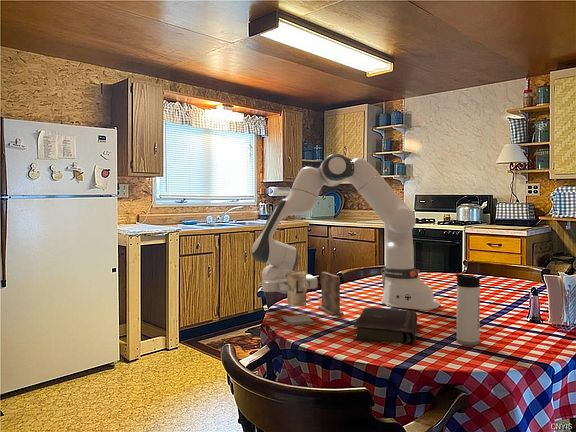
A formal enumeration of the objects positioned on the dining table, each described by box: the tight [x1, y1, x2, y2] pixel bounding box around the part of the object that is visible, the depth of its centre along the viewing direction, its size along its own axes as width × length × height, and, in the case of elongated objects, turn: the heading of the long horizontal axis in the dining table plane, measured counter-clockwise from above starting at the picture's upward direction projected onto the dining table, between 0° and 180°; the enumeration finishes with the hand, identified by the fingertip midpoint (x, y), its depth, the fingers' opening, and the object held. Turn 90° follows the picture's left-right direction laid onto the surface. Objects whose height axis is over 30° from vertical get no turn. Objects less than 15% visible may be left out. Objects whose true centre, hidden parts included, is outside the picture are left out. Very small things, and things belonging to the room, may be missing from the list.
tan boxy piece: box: [286, 272, 307, 308], centre depth 158 cm, size 5×5×11 cm
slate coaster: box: [282, 314, 314, 326], centre depth 158 cm, size 8×8×1 cm
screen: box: [317, 271, 344, 317], centre depth 171 cm, size 12×4×14 cm, turn 21°
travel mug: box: [455, 273, 481, 346], centre depth 133 cm, size 6×7×20 cm
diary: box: [352, 306, 418, 346], centre depth 146 cm, size 19×25×5 cm
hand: (297, 287), depth 157 cm, fingers closed on tan boxy piece, 5 cm apart
